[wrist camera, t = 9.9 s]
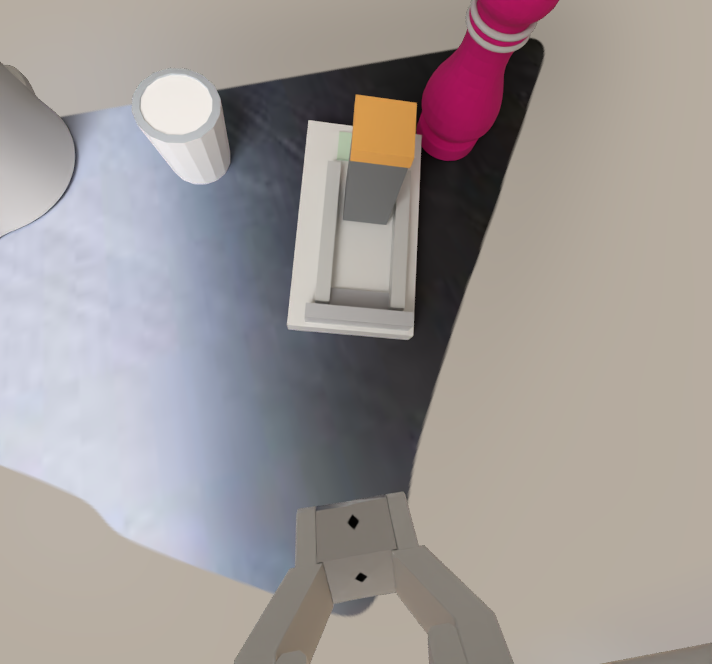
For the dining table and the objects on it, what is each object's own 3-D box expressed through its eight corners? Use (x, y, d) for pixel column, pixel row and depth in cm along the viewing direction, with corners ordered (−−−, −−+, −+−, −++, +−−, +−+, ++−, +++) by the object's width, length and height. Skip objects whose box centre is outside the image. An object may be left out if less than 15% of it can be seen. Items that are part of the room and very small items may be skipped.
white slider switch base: (288, 329, 36) (285, 319, 32) (308, 134, 40) (308, 104, 36) (408, 339, 37) (418, 331, 33) (416, 148, 41) (427, 120, 37)
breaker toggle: (341, 221, 36) (351, 149, 26) (345, 179, 37) (356, 94, 27) (387, 226, 37) (414, 157, 27) (389, 184, 38) (416, 102, 28)
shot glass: (158, 131, 39) (124, 72, 32) (230, 121, 40) (212, 61, 33) (169, 196, 38) (137, 148, 31) (243, 184, 39) (228, 135, 32)
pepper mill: (425, 93, 43) (519, -175, 23) (488, 121, 43) (634, -123, 23) (401, 148, 41) (480, -90, 21) (466, 177, 41) (602, -34, 22)
